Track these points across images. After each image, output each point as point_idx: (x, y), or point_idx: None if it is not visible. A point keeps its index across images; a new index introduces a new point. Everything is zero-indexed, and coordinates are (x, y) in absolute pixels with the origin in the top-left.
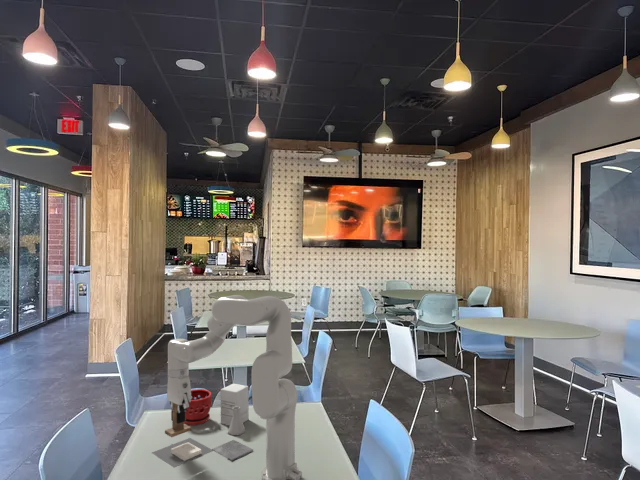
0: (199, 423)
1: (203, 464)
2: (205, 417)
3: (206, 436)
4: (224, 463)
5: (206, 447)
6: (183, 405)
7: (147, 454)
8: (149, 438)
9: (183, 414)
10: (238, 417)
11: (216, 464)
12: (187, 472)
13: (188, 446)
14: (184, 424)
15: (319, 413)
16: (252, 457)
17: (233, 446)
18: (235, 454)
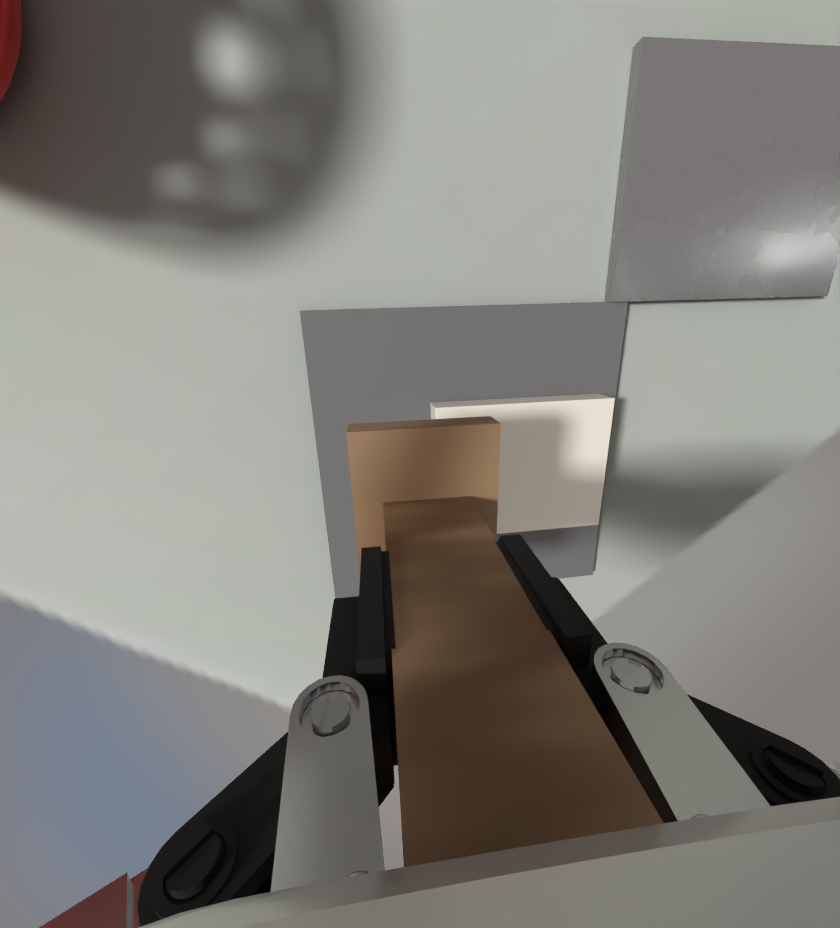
0: (21, 20)
1: (687, 441)
2: None
3: (359, 170)
4: (788, 345)
5: (550, 312)
6: (679, 794)
7: (327, 614)
8: (79, 533)
9: (593, 638)
10: None
11: (753, 387)
12: (674, 539)
13: (501, 440)
14: (377, 442)
15: None
16: None
17: (725, 141)
18: (812, 225)
